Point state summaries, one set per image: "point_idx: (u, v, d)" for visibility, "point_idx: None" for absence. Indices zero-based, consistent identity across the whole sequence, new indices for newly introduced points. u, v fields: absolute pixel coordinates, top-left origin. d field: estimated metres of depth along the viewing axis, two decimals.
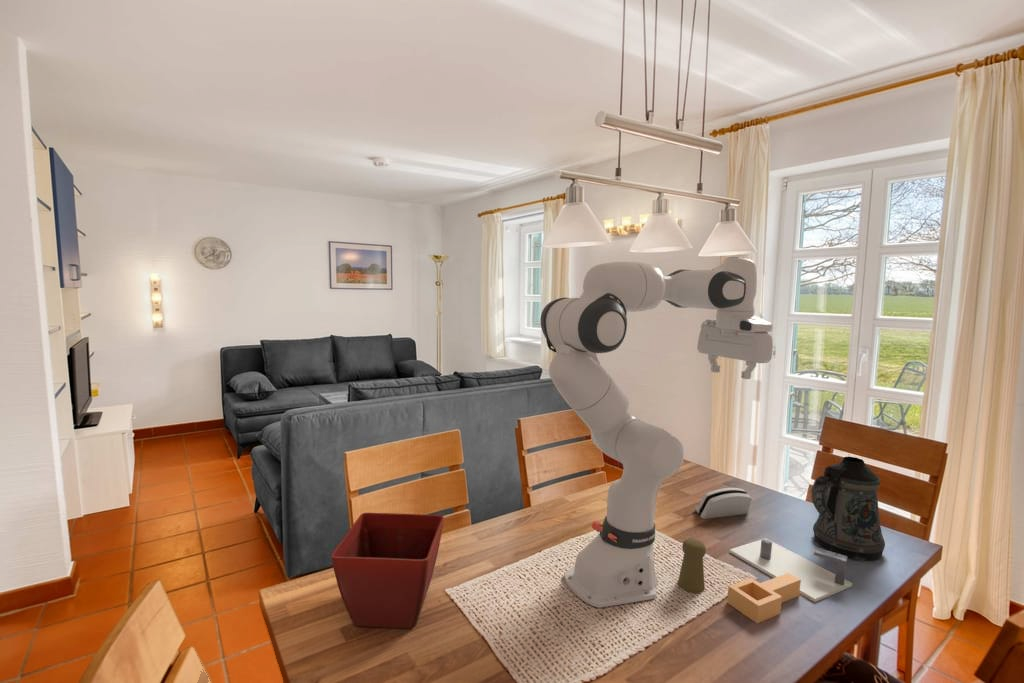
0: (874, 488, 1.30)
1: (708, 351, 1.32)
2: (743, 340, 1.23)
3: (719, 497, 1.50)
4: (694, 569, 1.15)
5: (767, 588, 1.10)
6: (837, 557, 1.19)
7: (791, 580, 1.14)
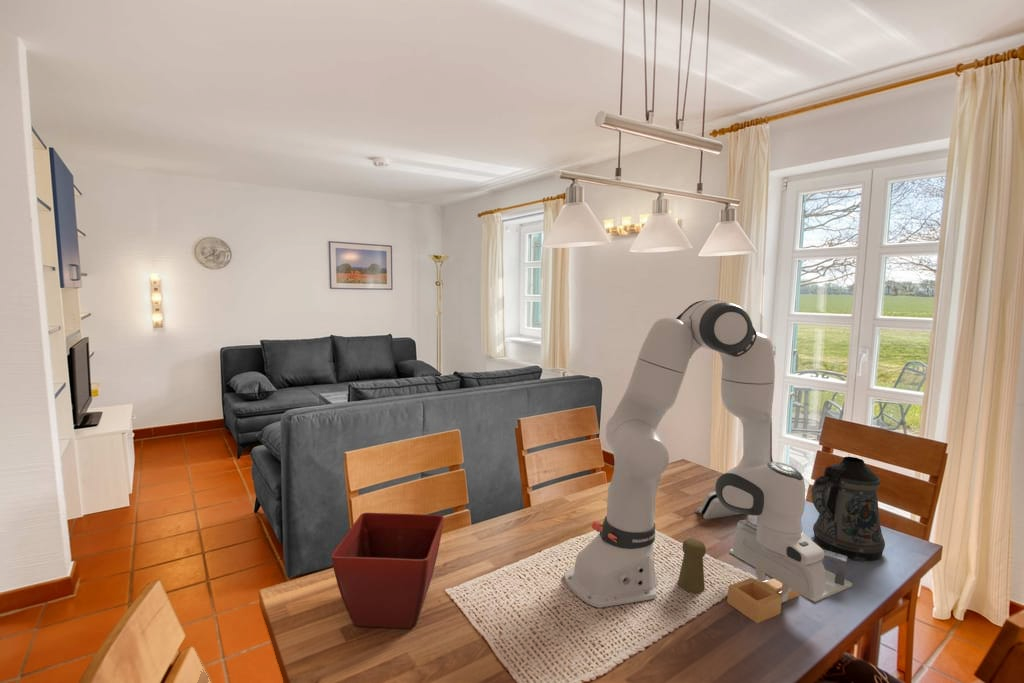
0: (874, 488, 1.30)
1: (747, 559, 1.16)
2: (790, 565, 1.07)
3: None
4: (694, 569, 1.15)
5: (767, 588, 1.10)
6: (837, 557, 1.19)
7: None
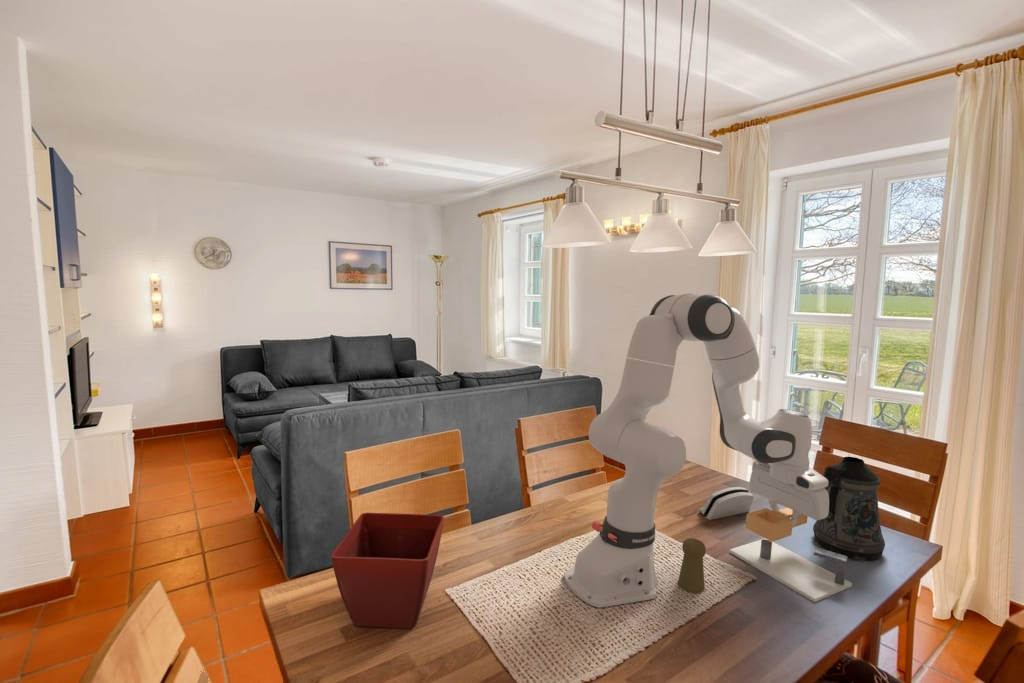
0: (874, 488, 1.30)
1: (761, 493, 1.35)
2: (799, 493, 1.26)
3: (725, 497, 1.50)
4: (694, 569, 1.15)
5: (780, 515, 1.29)
6: (837, 557, 1.19)
7: None
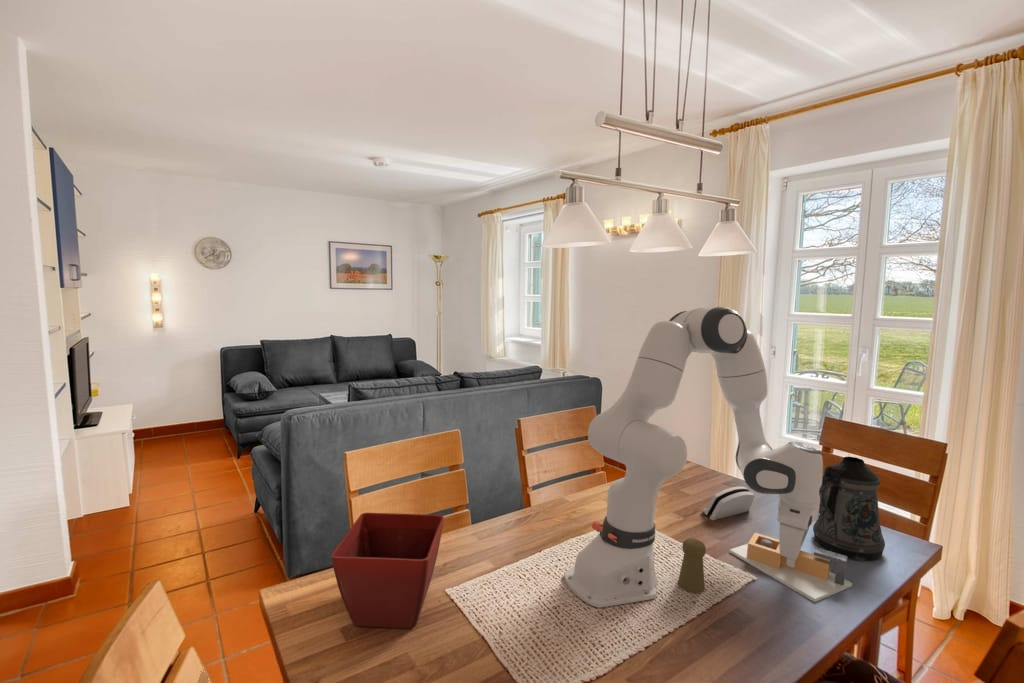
0: (874, 488, 1.30)
1: None
2: None
3: (728, 497, 1.50)
4: (694, 569, 1.15)
5: None
6: (837, 557, 1.19)
7: (818, 560, 1.21)
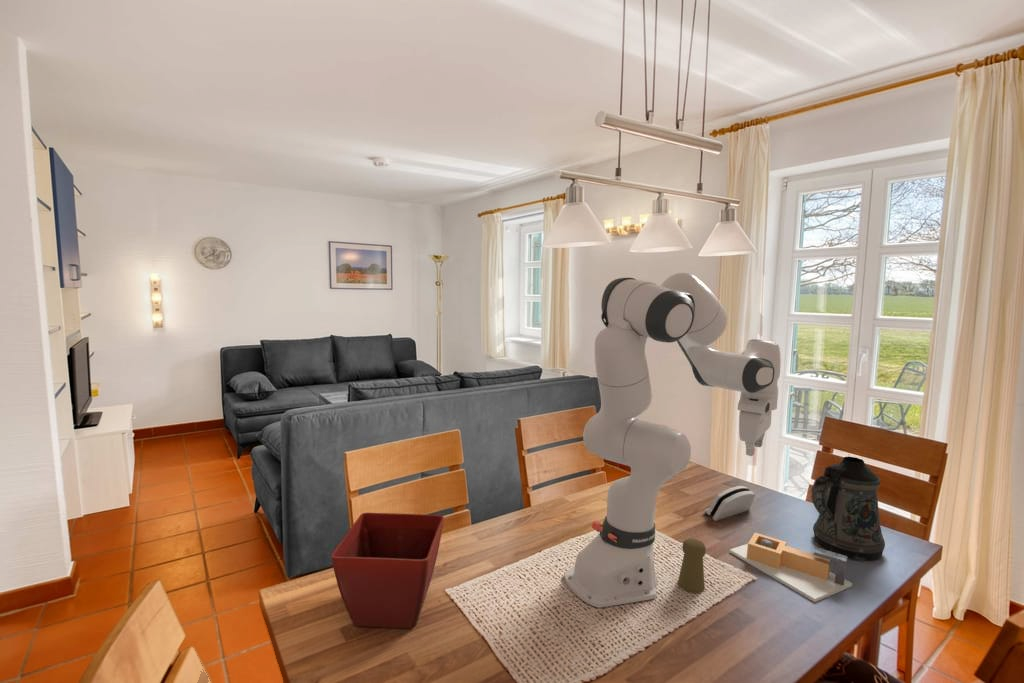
0: (874, 488, 1.30)
1: None
2: None
3: (731, 497, 1.50)
4: (694, 569, 1.15)
5: (782, 548, 1.26)
6: (837, 557, 1.19)
7: (818, 560, 1.21)
